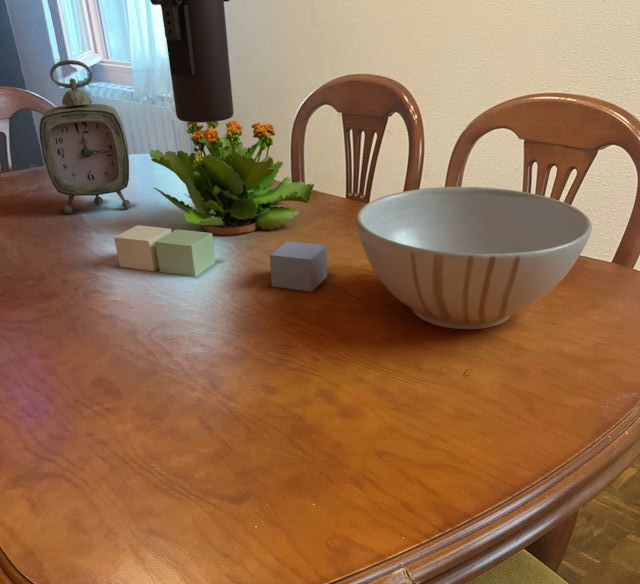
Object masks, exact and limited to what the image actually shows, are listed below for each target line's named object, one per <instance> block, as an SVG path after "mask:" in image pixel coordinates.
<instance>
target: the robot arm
mask: <svg viewBox="0 0 640 584" xmlns="http://www.w3.org/2000/svg"><path fill="white" fill-rule="evenodd" d="M230 1H231V0H224V3H225V2H227V3H228V2H230ZM149 2H150V4H151V5H153V6H160V8H161V15H162V23H163V28H164V29H163V31H164V36H165V41H166V48H167V55H168V62H169V71H170V76H171V75H195V66H194V57H193V48H192V40H191V31H190V22H189V13H188V5H180V4H181V3H182V0H149Z"/></svg>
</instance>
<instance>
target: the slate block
mask: <svg viewBox="0 0 640 584" xmlns="http://www.w3.org/2000/svg"><path fill="white" fill-rule="evenodd" d="M269 265H270V280H271V287H274V288H281V289H289V290H296V291H304V292H314V290H315V289H316V288H317V287H319V285H321V283H322V282H323V281H324V280H325V279H326V278H327V277H328V246H327V245H326V244H320V243H319V244H318V243H309V242H301V241H300V242H299V241H292V240H291V241H289V240H287V241H286V242H284V243H283V244H282V245H280V246H279V247H278V248H276V249H275V250H274V251H273V252H272V253H270V254H269Z"/></svg>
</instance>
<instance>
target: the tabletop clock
mask: <svg viewBox="0 0 640 584" xmlns="http://www.w3.org/2000/svg"><path fill="white" fill-rule="evenodd" d="M68 65H75V66H79V67H82V68H83V69H86V71H87V72H88V73H89V78H88V79H86V80H84V81H82V82H77V80H76V78H72V77H71V78H70V79H69V83H64V82H60V81H58V80H56V79H55V77H54V72H55V71H56V69H58V68H60V67H62V66H68ZM49 76H50V79H51V81H52V82H53V83H55V84H56V85H57V86H58V87H62V88H65V89H70V90H67V91H65V93H64V94H63V97H62V100H61V101H62V102H61V106H55V107H53V108H50V109H49V110H47V111H45V112H44V113H43V115H42V116H41V118H40V122H39V142H40V147H41V153H42V158H43V161H44V164H45V167H46V170H47V174H48V176H49V179H50V181H51V184H52V185H53V187H54V188H55V190H56V191H57V193H59V194H62V195H65V196H68V200H67V201H68V202H67V204H65V205H64V206H63V211H64V213H65V214H67V215H71V214H72V213H73V211H74V209H73V206H72V203H73V200H74V197H86V196H88V197H89V196H91V197H92V196H93V197H94V196H95V197H94V199H93V202H94V204H95V205H96V206H101V205H102V204H103V202H104V200H103V198H102V196H101V195H107V194H115V193H116V194H117V195H118V197H119V198H120V199H121V201H122V202H121V205H122V207H123V209H125V210H128V209H130V208H131V206H132V203H131V202H130V200H128V199H126V198H125V196H124V194H123V193H122V190H125V189H126V188H128V184H129V180H130V157H129V156H130V154H129V145H128V141H127V136H126V132H125V129H124V124H123V121H122V120H121V117H120V115H119V113H118V111H117V109H116V108H115V107H113V106H110V105H107V104H101V103H93V100H92V98H91V96H90V95H89V94H88V93H87V92H86V91H85V90H82V89H79V88H83V87H86V86H87V85H89V84H90V83H91V82H92V80H93V72H92V70H91V68H90V67H89V66H88V65H87V64H86V63H85V62H82V61H80V60H74V59H66V60H61V61H58V62H57V63H55V64H53V66H52V67H51V69H50V72H49Z"/></svg>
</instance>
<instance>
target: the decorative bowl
mask: <svg viewBox="0 0 640 584" xmlns="http://www.w3.org/2000/svg"><path fill="white" fill-rule="evenodd" d="M355 220H356V228H357V232H358V235H359V239H360V242H361V245H362V248H363V250H364V254H365V256H366V258H367V260H368V262H369V264H370V266H371V268H372V270H373V272H374V274H375V275H376V277H378V279H379V280H380V281H381V283H382V285H383V286H384V287H385V288H386V289H387V290H388V292H390V293H391V294H392V295H393V296H394V297H395V298H396V299H397V300H398V301H399V302H401V303H402V304H404V305H405V306H406V307H409V308H410V309H412V311H413V313H414V314H415V315H416V316H417V317H418V318H419V319H421V320H423V321H424V322H427V323H429V324H433V325H435V326H439V327H443V328H450V329H457V330H479V329H486V328H492V327H495V326H498V325H500V324H503V323H505V322H506V321H507V320H509V319H510V317H512V316H514V315H516V314H519V313H521V312H523V311H524V310H526V309H528V308H530V307H532V306H534V305H536V303H538V302H539V301H541V300H543V298H545V297H546V296H547V295H548V294H549V293H551V292H552V291H553V290H554V289H555V288H556V287H557V286H558V285H559V284H560V283H561V282H562V280H563V279H564V278H565V277H566V276H567V275H568V273H569V272H570V271H571V269H572V268H573V266H574V265H575V264H576V262H577V261H578V259H579V257H580V255H581V254H582V252H583V251H584V248H585V247H586V245H587V243H588V241H589V240H590V237H591V234H592V231H593V225H592V220H591V219H590V218H589V217H588V215H587V214H586V213H584V212H583V210H581V209H580V208H578V207H575V206H573V205H571V204H569V203H567V202H564V201H561V200H560V199H559V200H558V199H555V198H553V197H549V196H546V195H545V196H544V195H541V194H536V193H532V192H527V191H520V190H519V191H518V190H514V189H507V188H495V187H483V186H438V187H428V188H418V189H411V190H405V191H400V192H395V193H391V194H387V195H384V196H381V197H378V198H376V199H374V200H372V201H369V202H368V203H366V204H365V205H364V206H362V207H361V208H360V209H359V210H358V212H357V214H356V219H355Z"/></svg>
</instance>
